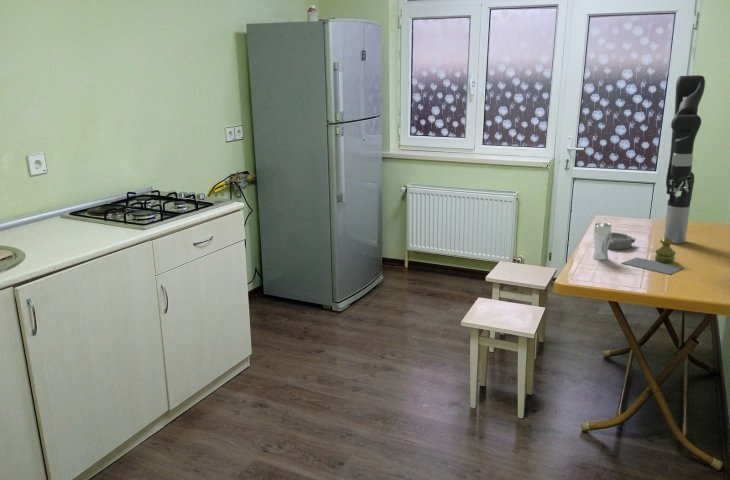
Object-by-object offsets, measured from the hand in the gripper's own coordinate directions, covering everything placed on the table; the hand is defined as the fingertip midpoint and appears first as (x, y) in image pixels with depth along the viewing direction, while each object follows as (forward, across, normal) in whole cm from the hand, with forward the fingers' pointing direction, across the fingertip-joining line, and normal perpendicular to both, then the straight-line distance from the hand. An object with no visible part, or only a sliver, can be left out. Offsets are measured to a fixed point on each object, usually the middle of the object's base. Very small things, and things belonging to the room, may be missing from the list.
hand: (677, 202), depth 247 cm
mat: (+24, +18, +2) cm, 30 cm away
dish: (+24, +2, -25) cm, 35 cm away
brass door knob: (+24, +8, +2) cm, 26 cm away
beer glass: (+24, +25, -17) cm, 39 cm away
